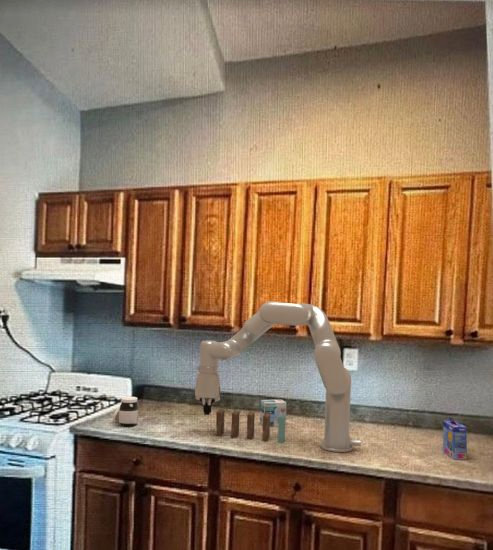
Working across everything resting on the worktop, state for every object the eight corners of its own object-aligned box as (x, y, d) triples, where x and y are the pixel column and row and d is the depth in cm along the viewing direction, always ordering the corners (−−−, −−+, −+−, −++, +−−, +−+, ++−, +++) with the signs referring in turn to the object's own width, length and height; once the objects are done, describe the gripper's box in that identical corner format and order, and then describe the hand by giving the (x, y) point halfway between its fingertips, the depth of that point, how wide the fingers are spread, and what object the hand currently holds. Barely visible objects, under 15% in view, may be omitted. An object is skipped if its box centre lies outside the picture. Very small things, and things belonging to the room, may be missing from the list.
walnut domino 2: (238, 435, 215) (239, 410, 216) (235, 438, 211) (236, 413, 211) (234, 434, 216) (234, 410, 216) (231, 437, 211) (231, 413, 211)
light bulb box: (263, 427, 229) (264, 402, 230) (259, 423, 236) (260, 399, 236) (286, 426, 232) (287, 402, 232) (281, 422, 239) (282, 399, 239)
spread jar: (134, 428, 221) (135, 400, 221) (108, 427, 221) (109, 399, 221) (140, 421, 233) (141, 395, 233) (115, 420, 233) (116, 394, 233)
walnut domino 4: (269, 438, 212) (270, 413, 213) (267, 441, 208) (267, 416, 208) (264, 437, 213) (265, 413, 213) (262, 440, 208) (263, 415, 208)
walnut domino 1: (223, 433, 217) (224, 409, 217) (220, 436, 212) (221, 412, 212) (219, 433, 217) (220, 409, 218) (215, 436, 212) (216, 411, 213)
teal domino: (284, 439, 211) (285, 414, 211) (282, 442, 206) (283, 417, 206) (280, 439, 211) (280, 414, 212) (278, 442, 207) (278, 417, 207)
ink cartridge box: (441, 451, 201) (442, 414, 202) (455, 451, 202) (456, 414, 202) (452, 459, 192) (453, 420, 192) (467, 460, 192) (468, 420, 192)
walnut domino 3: (254, 436, 214) (254, 412, 214) (251, 439, 209) (252, 414, 209) (249, 436, 214) (250, 411, 215) (246, 439, 209) (247, 414, 210)
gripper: (188, 370, 215) (187, 414, 214) (223, 372, 212) (221, 417, 211) (194, 367, 222) (193, 410, 222) (228, 370, 219) (226, 413, 218)
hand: (207, 414), depth 216 cm, fingers closed
